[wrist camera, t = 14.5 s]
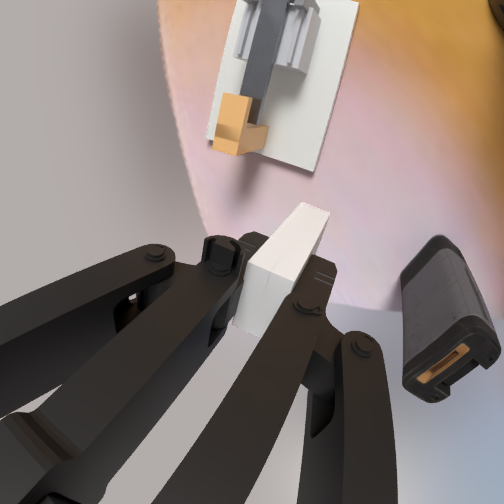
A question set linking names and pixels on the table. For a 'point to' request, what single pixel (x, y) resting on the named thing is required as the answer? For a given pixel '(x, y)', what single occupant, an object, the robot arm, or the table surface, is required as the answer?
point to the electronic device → (443, 322)
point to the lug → (237, 127)
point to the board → (292, 74)
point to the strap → (263, 55)
